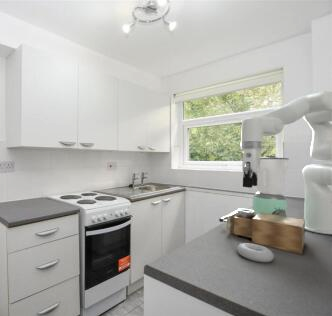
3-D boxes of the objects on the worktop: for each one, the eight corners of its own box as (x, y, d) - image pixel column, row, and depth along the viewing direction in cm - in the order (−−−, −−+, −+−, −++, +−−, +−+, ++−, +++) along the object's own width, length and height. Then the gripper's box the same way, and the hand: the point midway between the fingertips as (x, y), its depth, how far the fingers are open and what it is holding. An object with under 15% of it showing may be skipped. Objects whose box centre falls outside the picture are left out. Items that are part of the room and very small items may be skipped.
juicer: (298, 234, 98) (300, 156, 98) (267, 233, 99) (269, 155, 98) (266, 221, 117) (267, 156, 117) (240, 221, 118) (242, 156, 117)
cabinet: (251, 242, 88) (252, 218, 88) (259, 233, 98) (259, 212, 98) (301, 254, 78) (302, 227, 77) (304, 243, 88) (305, 219, 87)
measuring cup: (239, 227, 100) (239, 208, 100) (255, 231, 96) (255, 210, 96) (235, 230, 96) (236, 210, 96) (252, 234, 92) (252, 212, 92)
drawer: (216, 231, 98) (216, 213, 98) (225, 225, 107) (226, 209, 107) (265, 242, 85) (266, 222, 85) (271, 234, 95) (271, 216, 95)
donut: (279, 267, 68) (266, 253, 78) (279, 256, 68) (266, 243, 78) (242, 261, 71) (233, 248, 81) (242, 250, 71) (233, 239, 81)
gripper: (258, 145, 85) (256, 189, 85) (265, 147, 97) (264, 186, 97) (235, 145, 91) (234, 186, 91) (245, 147, 103) (244, 184, 103)
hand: (250, 186), depth 94 cm, fingers open, 9 cm apart
